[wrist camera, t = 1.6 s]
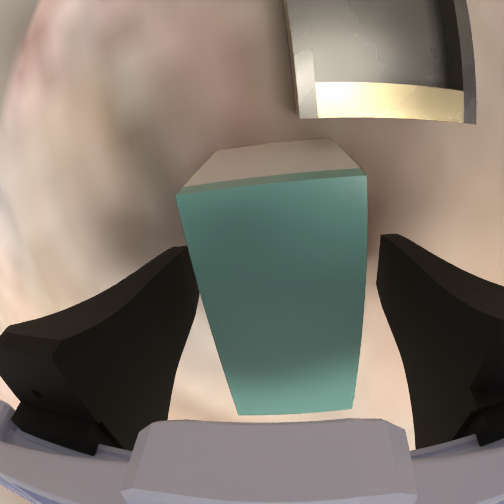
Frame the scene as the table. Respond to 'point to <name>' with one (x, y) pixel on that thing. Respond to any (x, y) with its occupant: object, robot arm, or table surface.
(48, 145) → the table surface
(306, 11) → the grey rectangular tray
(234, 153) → the teal rectangular brick
